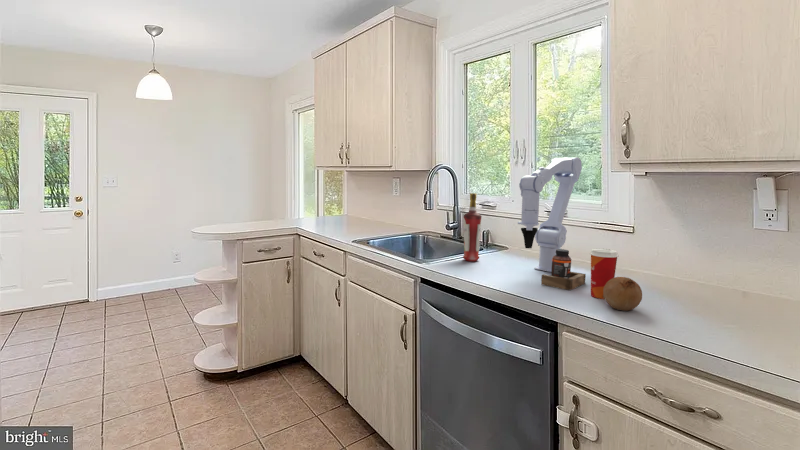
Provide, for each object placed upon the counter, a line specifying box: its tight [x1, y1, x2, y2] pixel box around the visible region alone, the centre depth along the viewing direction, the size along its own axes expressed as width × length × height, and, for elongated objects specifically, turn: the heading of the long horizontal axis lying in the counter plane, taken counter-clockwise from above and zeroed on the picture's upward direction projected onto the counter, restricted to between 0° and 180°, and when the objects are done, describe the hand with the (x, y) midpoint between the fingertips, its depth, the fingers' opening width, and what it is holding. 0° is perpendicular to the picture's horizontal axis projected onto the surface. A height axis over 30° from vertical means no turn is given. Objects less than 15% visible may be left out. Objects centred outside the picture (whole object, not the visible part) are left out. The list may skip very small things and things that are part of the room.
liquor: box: [462, 192, 482, 263], centre depth 175 cm, size 7×7×28 cm
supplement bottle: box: [550, 248, 572, 279], centre depth 140 cm, size 6×6×11 cm
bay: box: [540, 271, 586, 291], centre depth 140 cm, size 12×10×3 cm
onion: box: [603, 276, 643, 312], centre depth 115 cm, size 10×9×10 cm
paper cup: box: [589, 248, 619, 300], centre depth 126 cm, size 8×8×14 cm
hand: (528, 248), depth 150 cm, fingers closed
